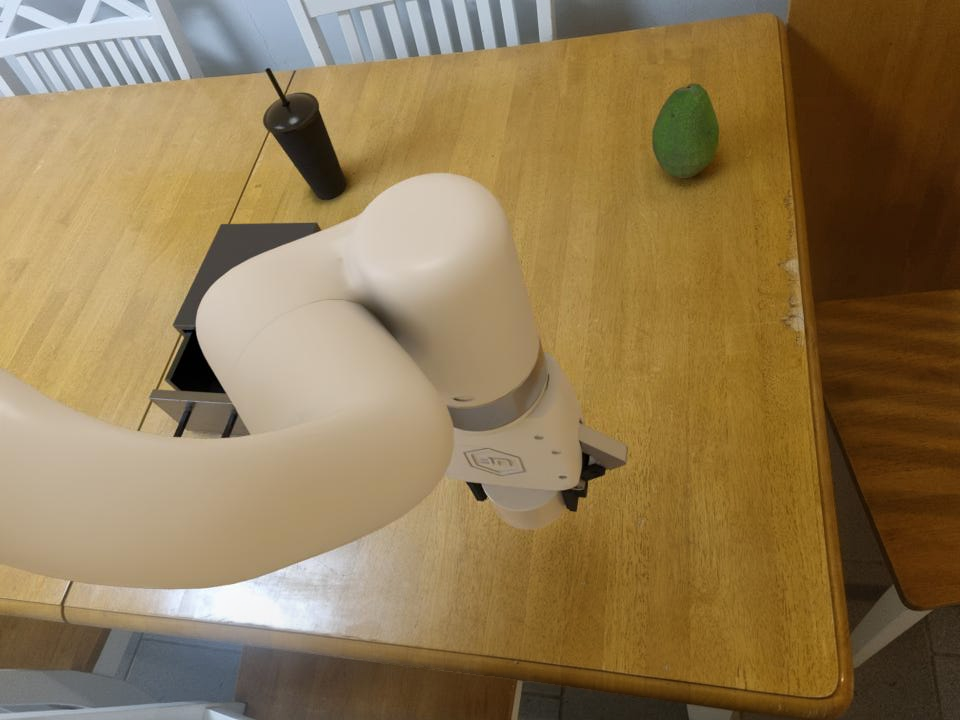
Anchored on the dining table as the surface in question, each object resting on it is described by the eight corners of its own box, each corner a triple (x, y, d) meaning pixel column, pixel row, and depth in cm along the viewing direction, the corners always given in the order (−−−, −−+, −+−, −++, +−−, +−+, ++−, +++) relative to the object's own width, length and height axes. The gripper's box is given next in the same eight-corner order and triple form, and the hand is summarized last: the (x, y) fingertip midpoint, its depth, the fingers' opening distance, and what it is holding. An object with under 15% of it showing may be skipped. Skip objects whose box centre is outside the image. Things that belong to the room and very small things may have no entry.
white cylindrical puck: (536, 547, 55) (528, 528, 51) (474, 499, 58) (462, 478, 55) (588, 482, 57) (583, 460, 53) (525, 439, 60) (516, 416, 56)
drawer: (259, 493, 80) (223, 464, 74) (164, 484, 83) (121, 454, 77) (316, 332, 91) (289, 294, 84) (230, 329, 94) (198, 292, 88)
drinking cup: (323, 215, 103) (256, 98, 87) (296, 191, 107) (228, 75, 91) (365, 184, 105) (308, 63, 88) (338, 161, 109) (278, 42, 93)
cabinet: (311, 373, 88) (275, 328, 81) (214, 368, 92) (171, 325, 84) (346, 272, 96) (317, 222, 88) (256, 271, 100) (220, 223, 92)
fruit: (727, 153, 93) (733, 73, 83) (703, 197, 90) (706, 119, 80) (667, 141, 96) (666, 62, 86) (642, 183, 93) (638, 106, 83)
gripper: (325, 412, 43) (414, 521, 57) (626, 436, 38) (639, 549, 52) (360, 308, 47) (435, 435, 61) (638, 318, 42) (647, 454, 56)
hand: (529, 487), depth 57 cm, fingers closed on white cylindrical puck, 6 cm apart
